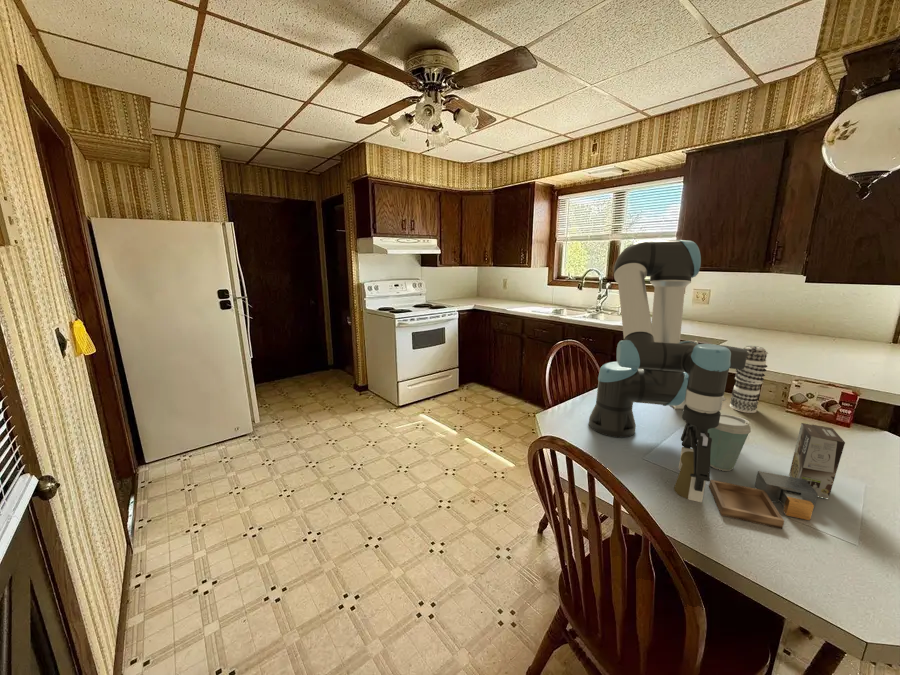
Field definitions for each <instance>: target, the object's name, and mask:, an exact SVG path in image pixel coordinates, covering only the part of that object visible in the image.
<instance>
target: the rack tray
mask: <svg viewBox="0 0 900 675" xmlns="http://www.w3.org/2000/svg"><path fill="white" fill-rule="evenodd" d="M708 488H709V490H710V492H711V496H712V498H713V499H714V502H715V503H714V504H715V505H716V507H717V509H718V512H719V514H720V516H723V517H727V518H731V519H734V520H740V521H745V522H749V523H754V524H758V525H761V526H765V527H766V526H767V527H771V528H775V529H780V530H783V527H784V523H785V519H784V518H783V516H782V515H781V514H780V512H779V510H778V509H777V507H776V506H775V504H774V502H772V501H771V499H770V498H769V496H768V495H767V493H766V492H765V491H764V490H760V489H756V487H749V486H745V485H739V484H734V483H729V482H725V481H720V480H715V479H710V481H709V484H708Z"/></svg>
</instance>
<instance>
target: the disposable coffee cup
mask: <svg viewBox="0 0 900 675" xmlns="http://www.w3.org/2000/svg"><path fill="white" fill-rule="evenodd" d="M751 429H752V428H751V425H750V421H749V420H748V419H745V418H744V417H740V416H737V415H733V414H729V413H721V415H720V420H719V425H718V426H717V427H716V428H710V429H708V433H709V434H710V438H712V443H711V455H710V468H711V467H712V468H713V469H716V470H718V469H719V471H721V470H722V471H723V472H729V471H732V470H733V469H734V468H735V466H736V463H737V461H738V459H739V456H740V455H741V452H742V449H743V448H744V445H745V443H746V441H747V438H748V437H749V434H750V433H751V432H752V430H751Z"/></svg>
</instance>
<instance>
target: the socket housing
mask: <svg viewBox="0 0 900 675" xmlns="http://www.w3.org/2000/svg"><path fill="white" fill-rule="evenodd" d="M754 488H755V489H760V490H764V491H765V492H766V493H767V495H768V496H769V498H770V499H771V501H773V503H777V502H778V503H779V502H780V501H779V497H780V493H781V489H784V490H789V491H794V492H798V494H799V495H800V496H801V498H802V499H803V500H807V501H811V502H812V504H813V505H814V508H813V509H815V506H816V503H817V502H816V501H817V498H818V497H817V495H818V494H817V492H816V491H815V490H814V489H813V488H812V486H811V485H810V484H809V483H808V482H807V481H806V480H805V479H799V478H794V477H790V476H789V475H788V476H787V475H782V474H776V473H771V472H766V471H760V470H757V475H756V478H755V483H754Z"/></svg>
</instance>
